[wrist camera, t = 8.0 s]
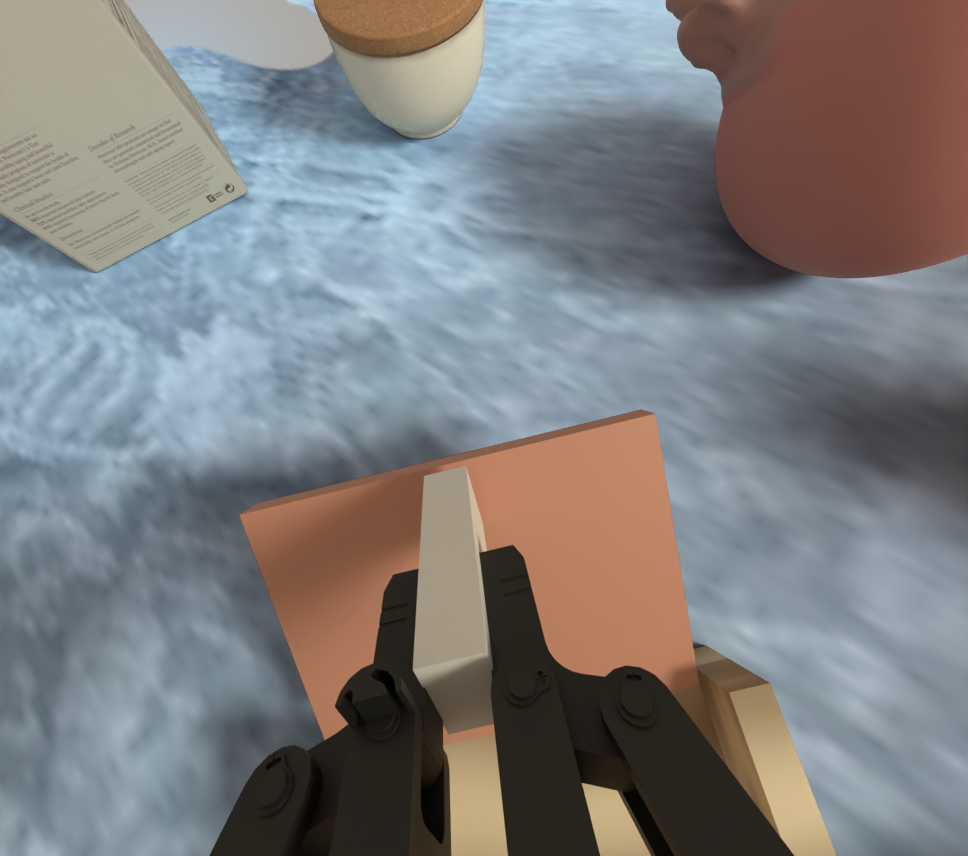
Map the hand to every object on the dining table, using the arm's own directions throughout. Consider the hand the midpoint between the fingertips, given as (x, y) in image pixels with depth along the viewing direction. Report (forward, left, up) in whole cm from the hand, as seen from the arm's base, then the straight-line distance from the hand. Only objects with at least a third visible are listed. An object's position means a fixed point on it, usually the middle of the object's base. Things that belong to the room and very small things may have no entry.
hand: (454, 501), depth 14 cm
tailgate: (+9, 0, -7) cm, 11 cm away
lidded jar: (-32, +3, -9) cm, 33 cm away
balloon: (-15, +23, -9) cm, 29 cm away
